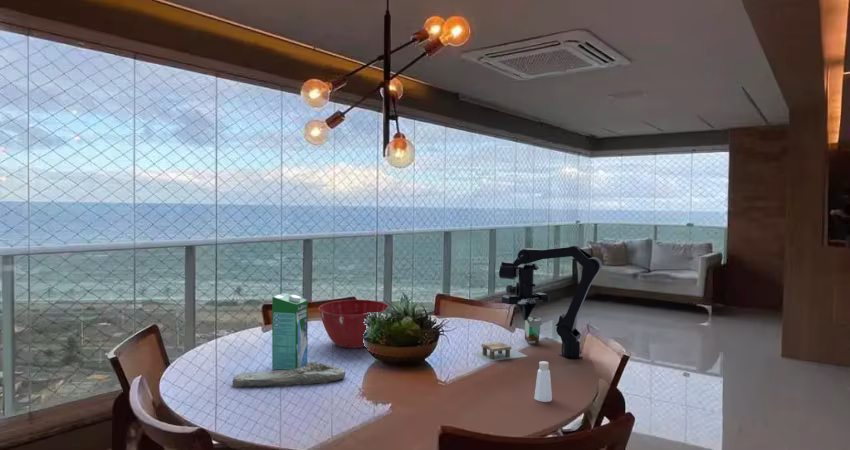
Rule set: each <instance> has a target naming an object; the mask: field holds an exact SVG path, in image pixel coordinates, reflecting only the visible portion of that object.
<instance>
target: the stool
mask: <svg viewBox="0 0 850 450" xmlns="http://www.w3.org/2000/svg"><path fill="white" fill-rule="evenodd" d="M481 347H482V352H483V355H487V352H488V351H490V359H494V352H495V351H498V353H499V354H500V353H502V351H503V350H505V356H506V357H510V350H511V349H512V346H511V345H508V344H505V343H504V342H501V341H494V342H493V341H492V342H486V343H485V342H483V343H481Z"/></svg>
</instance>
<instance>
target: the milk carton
mask: <svg viewBox="0 0 850 450" xmlns="http://www.w3.org/2000/svg"><path fill="white" fill-rule="evenodd" d="M271 300H272V301H271V303H272V305H271V308H272V309H271V310H272V317H271V318H272V320H271V321H272V323H271V324H272V325H271V326H272V327H271V329H272V330H271V331H272V332H271V334H272V336H271V337H272V339H271V340H272V341H271V342H272V343H271V345H272V353H271V355H272V357H271V359H272V363H271V367H272V370H273V369H274V370H286V371H288V370H292V369H296V368H297V367H300V366H301V367H303V366H305V365H306V364H308V341H309V340H308V337H309V336H308V333H309V331H308V326H309V324H308V322H309V321H308V320H309V319H308V317H309V316H308V312H309V311H308V309H309V308H308V305H309V304H308V299H306V298H303V297H301V296H299V295H297V294H290V293H287V292H282V293H280V294H277V295H274V296H272V299H271Z"/></svg>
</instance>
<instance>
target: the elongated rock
mask: <svg viewBox="0 0 850 450" xmlns="http://www.w3.org/2000/svg"><path fill="white" fill-rule="evenodd" d="M345 377H346V370H345V369H344V368H341V367H337V366H334V365H332V364H324V363H323V362H321V363H319V362H317V361H316V360H314V361H310V362H307V363H306V364H305V365H304V366H302V367H301V366H300V367H297V368H296V369H292V370H283V369H280V370H272V371H255V372H242V373H239V374H237V375H235V376H233V377H232V378H233V379H232V381H231V382H232V387H235V388H244V387H248V388H249V387H250V388H251V387H255V388H258V387H260V388H261V387H266V388H267V387H285V386H287V387H289V386H294V385H313V384H328V383H329V382H334V381H335V382H336V381H340V380H343V379H345Z"/></svg>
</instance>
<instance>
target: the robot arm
mask: <svg viewBox="0 0 850 450" xmlns="http://www.w3.org/2000/svg"><path fill="white" fill-rule="evenodd" d="M568 257H572V258H573V259H574V260H575V261H576V262H577V263H578V264H579V265H581V266H582V271H581V275H580V276H581V278H580V281H579V283H578V286H577V287H576V291H575V293H574V296H573V297H572V300H571V302H570V305H569V306H568V309H567V311H566V313H562V314H561V315H559V317H558V321H557V323H556V324H555V327H556V329H555V330H556V333H557V336H559V337H560V340H561V353H558V356H560V357H562V358H565V359H567V360H578V359H583V355H580V352H581V351H580V349H581V347H580V343H581V341H579V340H580V338H581V337H582V333H580V331H579V330H578V329H577V322H578V316H579V313H580V311H581V308H582V306H583V304H584V301H585V299H586V297H587V294H588V292H589V290H590V287H591V285H592V283H593V282H594V280H595V279H596V277H597V276H598V274H599V273H600V271H601V270H602V269H603V266H604V265H603V261H602V260H601V259H600V258H599V257H596V256H592V255H591V254H590V253H588V252H586V251H585V250H583V249H582V248H581V247H579V245H571V246H562V247H554V248H553V247H552V248H543V249H541V248H533V247H532V248H531V247H529V248H528V247H527V248H524V249H520V250H519V251H518V253H517V258H516V259H515V260H514V261H513V262H509V261H501V262H500V263H501V264H500V267H499V270H498V276H499V278H500V279H502V280H516V278H518V282H517V281H516V284H515V286H513V284H509V285H508V284H507V285H506V286H505V288H506V289H505V290H506V294H504V295H502V297H501V303H502V304H503V303H505V304H506V305H509V306H510V305H511V306H512V305H517V306H518V308H519V310H520V314H521V316H522V319H523V321H525V320H527V319H528V317H529V316H531V315H530V314H531V313H532V311H533V310H534V308H535V306H536V305H538V302H536V301H537V300H538V301H539V300H541V302H543V303H547V302H550V296H549V294H547V293H544V292H534V288H535V287H536V283H534V275H535V274H534V271H539V270H540V267H539V266H538V265H537V264H536V262H537V261H541V260H549V259H550V260H551V259H557V258H558V259H559V258H568ZM534 262H535V263H534ZM531 263H532V264H531ZM522 265H523V266H522Z"/></svg>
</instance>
